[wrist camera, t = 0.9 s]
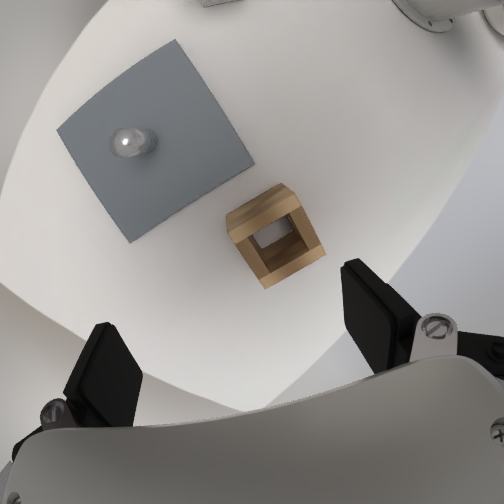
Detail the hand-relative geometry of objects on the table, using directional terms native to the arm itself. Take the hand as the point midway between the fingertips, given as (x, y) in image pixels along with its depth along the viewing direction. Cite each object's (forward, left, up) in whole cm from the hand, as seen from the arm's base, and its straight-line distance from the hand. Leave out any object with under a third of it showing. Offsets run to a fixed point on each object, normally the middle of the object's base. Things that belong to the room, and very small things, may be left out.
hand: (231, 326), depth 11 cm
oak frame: (-3, +5, -22) cm, 23 cm away
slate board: (+3, -10, -22) cm, 24 cm away
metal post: (+3, -10, -20) cm, 23 cm away
